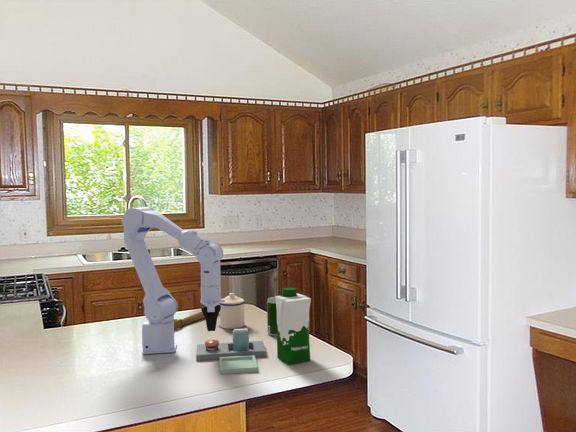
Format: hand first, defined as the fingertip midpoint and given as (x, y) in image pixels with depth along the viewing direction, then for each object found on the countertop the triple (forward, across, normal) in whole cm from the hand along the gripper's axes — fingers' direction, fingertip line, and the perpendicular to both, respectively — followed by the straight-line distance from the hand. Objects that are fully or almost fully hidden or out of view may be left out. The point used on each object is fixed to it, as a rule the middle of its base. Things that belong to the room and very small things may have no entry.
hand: (211, 330), depth 153 cm
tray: (+7, -12, -7) cm, 16 cm away
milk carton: (+7, -9, -23) cm, 26 cm away
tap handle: (+8, +34, +10) cm, 37 cm away
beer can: (+7, +17, -21) cm, 28 cm away
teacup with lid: (+7, +31, -6) cm, 32 cm away
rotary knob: (+7, 0, -9) cm, 11 cm away
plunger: (+7, 0, 0) cm, 7 cm away
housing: (+7, 0, -6) cm, 9 cm away
